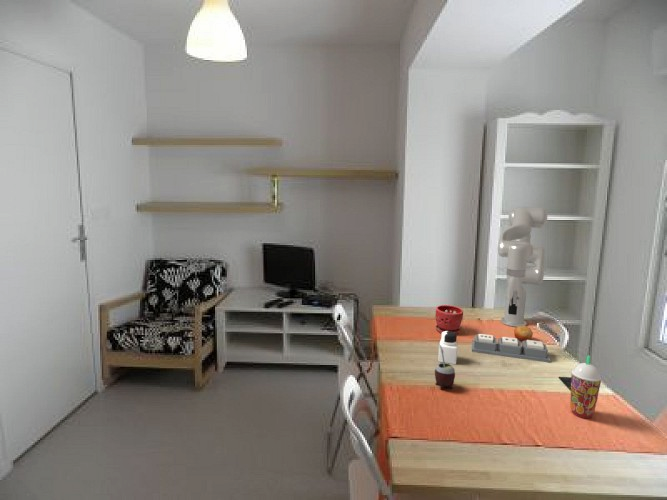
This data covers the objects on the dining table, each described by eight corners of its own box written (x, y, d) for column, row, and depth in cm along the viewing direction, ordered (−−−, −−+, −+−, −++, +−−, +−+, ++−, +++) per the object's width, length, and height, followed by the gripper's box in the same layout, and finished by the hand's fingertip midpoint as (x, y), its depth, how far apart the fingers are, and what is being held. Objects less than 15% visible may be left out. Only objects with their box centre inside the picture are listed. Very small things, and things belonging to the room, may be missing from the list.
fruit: (526, 333, 202) (531, 323, 197) (531, 347, 196) (536, 336, 191) (509, 332, 203) (513, 322, 198) (513, 346, 197) (517, 335, 192)
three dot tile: (477, 341, 190) (478, 333, 189) (492, 343, 188) (492, 334, 187) (477, 346, 184) (478, 337, 184) (492, 348, 182) (493, 339, 182)
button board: (472, 342, 193) (472, 333, 193) (545, 352, 183) (546, 342, 183) (471, 351, 183) (472, 341, 182) (549, 362, 173) (551, 352, 172)
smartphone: (576, 377, 159) (597, 396, 145) (576, 379, 160) (596, 399, 145) (558, 376, 160) (576, 395, 145) (557, 378, 160) (576, 398, 146)
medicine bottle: (456, 357, 177) (458, 330, 175) (455, 364, 170) (457, 336, 168) (439, 355, 179) (441, 328, 177) (438, 361, 172) (439, 334, 170)
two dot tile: (501, 345, 187) (502, 336, 186) (515, 346, 185) (516, 337, 184) (502, 350, 181) (503, 340, 180) (517, 352, 179) (518, 342, 179)
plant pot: (432, 334, 203) (434, 310, 201) (436, 325, 215) (438, 303, 213) (460, 338, 198) (462, 314, 196) (462, 329, 210) (464, 306, 208)
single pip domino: (525, 348, 184) (526, 339, 183) (540, 350, 182) (541, 341, 181) (527, 353, 178) (528, 344, 177) (542, 355, 176) (543, 346, 175)
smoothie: (561, 407, 139) (567, 350, 136) (584, 406, 140) (591, 350, 136) (577, 421, 131) (585, 361, 127) (602, 420, 132) (610, 361, 128)
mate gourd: (450, 393, 147) (453, 353, 144) (429, 387, 151) (431, 348, 148) (456, 384, 153) (459, 346, 151) (435, 379, 157) (438, 341, 155)
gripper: (505, 268, 186) (502, 307, 189) (507, 276, 172) (503, 318, 175) (523, 270, 183) (520, 309, 187) (527, 277, 170) (523, 320, 173)
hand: (512, 313), depth 181 cm, fingers closed
